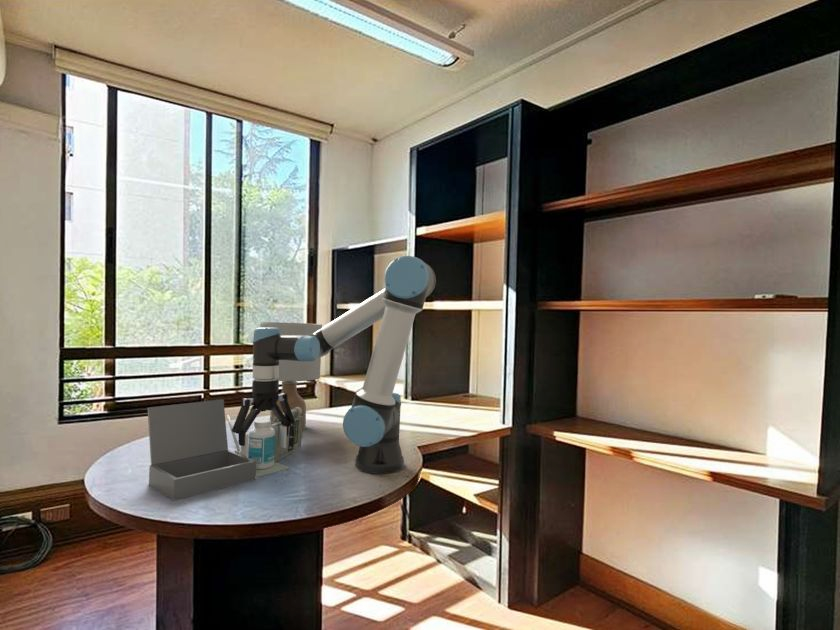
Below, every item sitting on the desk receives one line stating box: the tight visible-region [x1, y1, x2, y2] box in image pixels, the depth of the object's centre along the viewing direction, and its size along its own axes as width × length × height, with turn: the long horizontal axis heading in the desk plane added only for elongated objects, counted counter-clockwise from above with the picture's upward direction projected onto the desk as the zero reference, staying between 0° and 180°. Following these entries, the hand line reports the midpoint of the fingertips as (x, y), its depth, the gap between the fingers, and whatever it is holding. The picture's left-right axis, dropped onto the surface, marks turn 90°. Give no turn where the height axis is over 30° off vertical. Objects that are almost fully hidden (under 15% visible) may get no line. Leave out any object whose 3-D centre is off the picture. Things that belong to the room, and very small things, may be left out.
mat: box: [256, 461, 289, 478], centre depth 142 cm, size 11×11×1 cm
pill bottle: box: [248, 418, 275, 470], centre depth 142 cm, size 8×7×14 cm
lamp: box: [259, 321, 323, 431], centre depth 192 cm, size 24×24×42 cm
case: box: [147, 398, 257, 501], centre depth 131 cm, size 19×23×20 cm
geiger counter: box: [270, 407, 304, 462], centre depth 159 cm, size 14×6×25 cm
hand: (264, 451), depth 142 cm, fingers open, 12 cm apart
